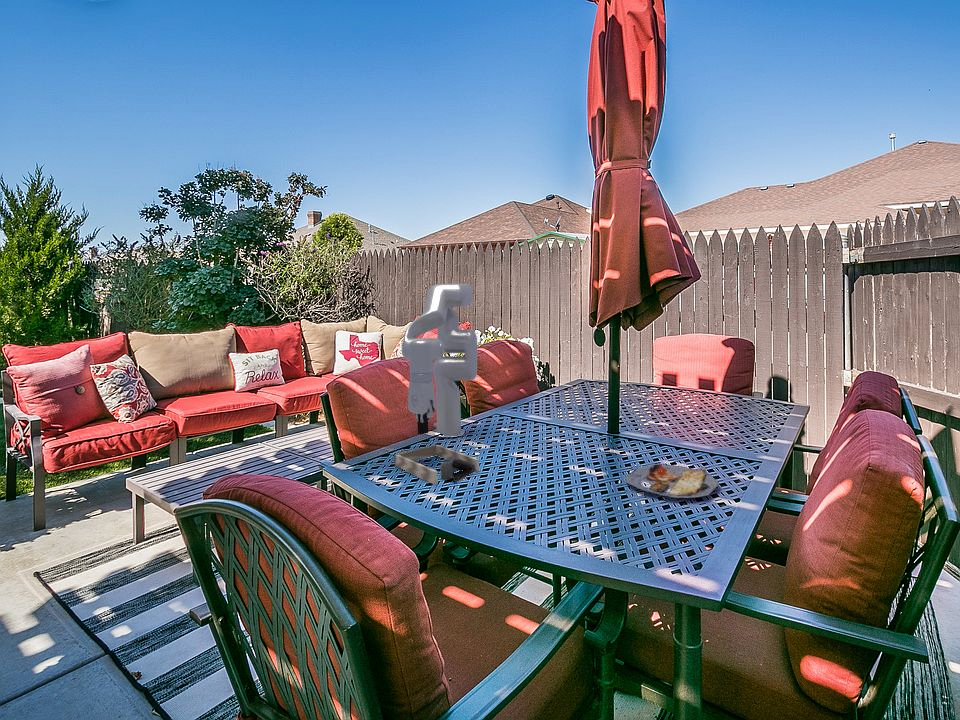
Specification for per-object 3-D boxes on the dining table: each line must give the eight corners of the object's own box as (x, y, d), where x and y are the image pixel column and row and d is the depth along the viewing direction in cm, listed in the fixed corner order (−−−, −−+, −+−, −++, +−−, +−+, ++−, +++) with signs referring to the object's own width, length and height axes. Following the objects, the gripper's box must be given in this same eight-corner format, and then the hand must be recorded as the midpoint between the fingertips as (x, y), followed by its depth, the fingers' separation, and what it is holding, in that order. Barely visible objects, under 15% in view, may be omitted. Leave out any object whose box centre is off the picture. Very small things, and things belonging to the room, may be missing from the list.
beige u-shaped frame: (394, 466, 167) (394, 454, 167) (437, 455, 178) (436, 444, 178) (435, 484, 150) (434, 471, 149) (479, 471, 161) (478, 459, 160)
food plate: (647, 465, 163) (648, 454, 162) (726, 481, 148) (727, 470, 147) (614, 491, 143) (614, 479, 143) (701, 513, 129) (701, 499, 128)
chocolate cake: (460, 469, 165) (437, 450, 158) (477, 466, 161) (455, 446, 155) (453, 496, 159) (429, 477, 152) (471, 494, 155) (447, 474, 149)
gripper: (399, 377, 169) (401, 431, 170) (424, 381, 157) (426, 439, 159) (418, 375, 173) (420, 428, 175) (444, 379, 162) (445, 435, 164)
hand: (423, 433), depth 167 cm, fingers closed
